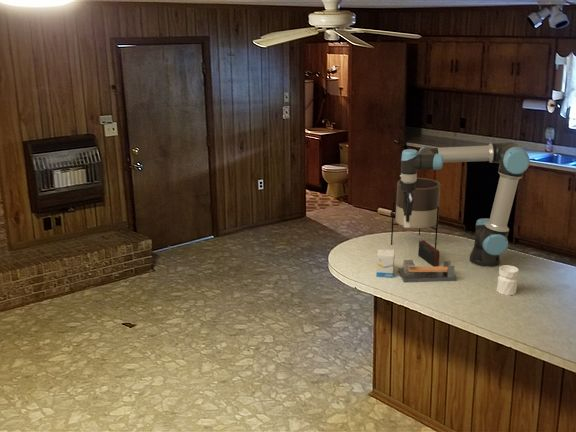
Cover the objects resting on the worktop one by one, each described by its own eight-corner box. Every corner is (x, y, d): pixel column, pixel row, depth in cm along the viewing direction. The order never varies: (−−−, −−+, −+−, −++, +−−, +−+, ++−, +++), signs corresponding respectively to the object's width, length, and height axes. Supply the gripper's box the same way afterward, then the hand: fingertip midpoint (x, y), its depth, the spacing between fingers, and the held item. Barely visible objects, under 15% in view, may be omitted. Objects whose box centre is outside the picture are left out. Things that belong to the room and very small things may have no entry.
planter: (449, 242, 363) (454, 182, 352) (425, 255, 346) (429, 192, 335) (410, 232, 380) (413, 174, 369) (386, 243, 363) (388, 183, 352)
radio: (417, 255, 345) (419, 229, 341) (422, 255, 346) (424, 229, 342) (435, 268, 329) (437, 241, 324) (440, 268, 330) (442, 240, 325)
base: (448, 270, 326) (449, 256, 324) (456, 280, 314) (457, 266, 312) (398, 271, 325) (398, 258, 323) (403, 282, 313) (404, 268, 310)
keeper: (411, 271, 320) (412, 259, 318) (415, 277, 314) (415, 265, 312) (403, 272, 320) (403, 260, 318) (406, 277, 313) (406, 265, 311)
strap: (448, 268, 319) (448, 266, 318) (451, 272, 314) (451, 269, 314) (407, 268, 318) (407, 265, 317) (409, 272, 313) (409, 269, 313)
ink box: (393, 278, 318) (394, 256, 314) (376, 276, 320) (376, 255, 316) (394, 271, 326) (394, 249, 322) (377, 270, 328) (377, 248, 324)
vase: (494, 288, 306) (496, 265, 302) (512, 288, 305) (515, 265, 301) (499, 296, 297) (501, 272, 293) (518, 296, 297) (521, 272, 293)
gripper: (397, 178, 318) (396, 223, 326) (403, 185, 306) (402, 231, 314) (412, 177, 319) (411, 222, 326) (419, 184, 306) (417, 231, 314)
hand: (406, 227), depth 320 cm, fingers closed
